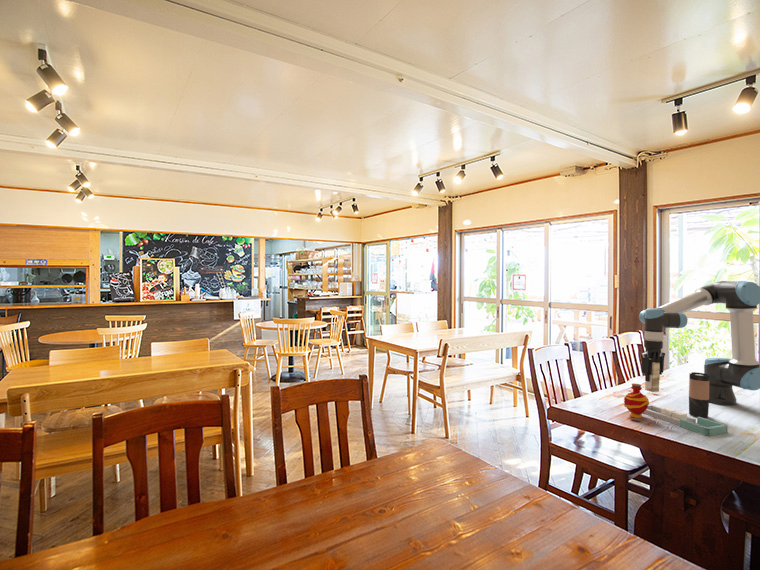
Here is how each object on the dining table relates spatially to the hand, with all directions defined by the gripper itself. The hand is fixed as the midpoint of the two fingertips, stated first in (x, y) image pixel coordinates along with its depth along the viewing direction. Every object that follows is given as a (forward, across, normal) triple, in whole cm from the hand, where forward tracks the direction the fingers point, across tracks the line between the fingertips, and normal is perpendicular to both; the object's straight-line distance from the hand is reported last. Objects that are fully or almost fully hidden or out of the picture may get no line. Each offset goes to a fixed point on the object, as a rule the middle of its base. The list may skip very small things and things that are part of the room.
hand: (652, 387), depth 196 cm
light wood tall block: (+2, 0, 0) cm, 2 cm away
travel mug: (+12, -17, +10) cm, 24 cm away
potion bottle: (+13, +12, +2) cm, 17 cm away
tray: (+12, 0, +23) cm, 26 cm away
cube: (+12, 0, +13) cm, 18 cm away
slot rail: (+12, 0, +7) cm, 14 cm away
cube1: (+12, 0, +8) cm, 15 cm away
